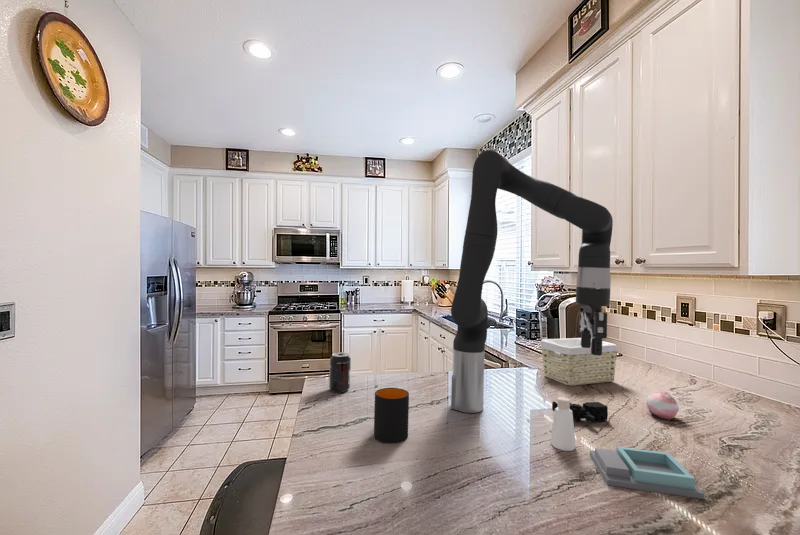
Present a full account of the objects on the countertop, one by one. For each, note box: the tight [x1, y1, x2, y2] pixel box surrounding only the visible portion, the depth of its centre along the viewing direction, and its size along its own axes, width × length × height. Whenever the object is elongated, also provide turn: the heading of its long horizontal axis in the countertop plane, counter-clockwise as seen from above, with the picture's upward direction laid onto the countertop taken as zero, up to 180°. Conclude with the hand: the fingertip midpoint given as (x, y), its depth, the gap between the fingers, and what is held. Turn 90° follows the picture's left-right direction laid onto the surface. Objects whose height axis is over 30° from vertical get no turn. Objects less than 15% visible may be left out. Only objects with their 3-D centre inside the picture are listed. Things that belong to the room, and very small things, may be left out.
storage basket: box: [540, 337, 618, 386], centre depth 142 cm, size 24×16×15 cm
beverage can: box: [328, 351, 352, 394], centre depth 121 cm, size 7×7×12 cm
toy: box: [551, 400, 609, 424], centre depth 101 cm, size 12×5×15 cm
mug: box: [373, 387, 410, 445], centre depth 90 cm, size 8×12×10 cm
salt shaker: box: [550, 396, 577, 452], centre depth 86 cm, size 5×5×11 cm
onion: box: [645, 391, 679, 420], centre depth 105 cm, size 8×8×7 cm
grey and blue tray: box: [589, 446, 705, 500], centre depth 74 cm, size 16×12×3 cm
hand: (590, 351), depth 91 cm, fingers open, 8 cm apart
